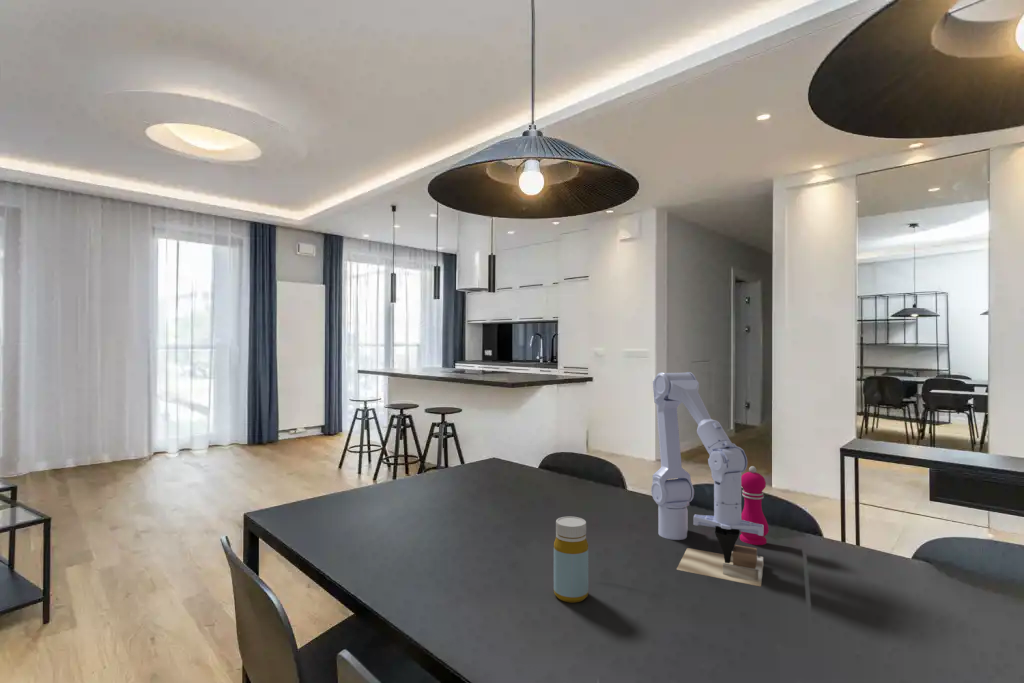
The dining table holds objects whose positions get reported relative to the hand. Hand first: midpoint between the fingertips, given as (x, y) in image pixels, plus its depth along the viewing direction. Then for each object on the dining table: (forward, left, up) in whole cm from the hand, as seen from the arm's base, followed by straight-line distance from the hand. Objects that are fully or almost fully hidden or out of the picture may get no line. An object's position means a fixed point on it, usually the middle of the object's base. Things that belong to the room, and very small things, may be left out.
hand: (727, 561), depth 115 cm
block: (0, +4, -1) cm, 4 cm away
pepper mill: (-21, +4, -2) cm, 21 cm away
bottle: (+27, -27, -2) cm, 39 cm away
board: (0, -1, -2) cm, 3 cm away
